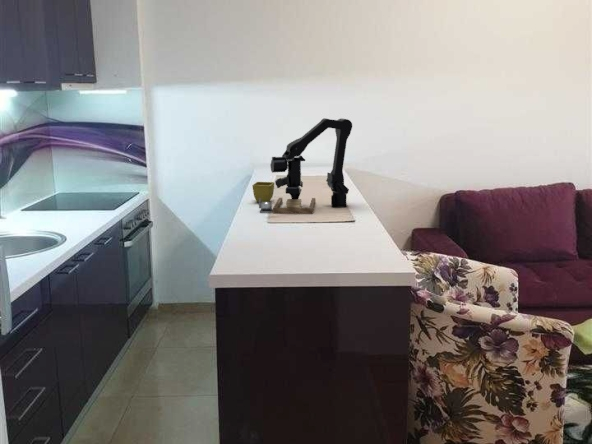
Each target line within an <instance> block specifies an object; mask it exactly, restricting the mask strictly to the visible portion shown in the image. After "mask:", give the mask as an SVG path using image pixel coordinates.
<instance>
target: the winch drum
mask: <svg viewBox="0 0 592 444" xmlns="http://www.w3.org/2000/svg"><path fill="white" fill-rule="evenodd" d="M258 209H260V210H259V213H260V214H272V213H273V203H272V201H269V202H261V198H259V203H258Z"/></svg>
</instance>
